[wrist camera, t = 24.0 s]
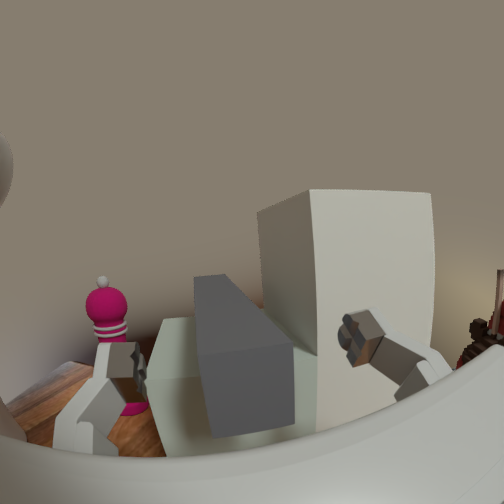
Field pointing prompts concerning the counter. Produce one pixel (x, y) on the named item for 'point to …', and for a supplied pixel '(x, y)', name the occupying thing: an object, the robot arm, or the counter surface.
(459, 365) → the cake
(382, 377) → the step stand
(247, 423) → the gray rectangular bar
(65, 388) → the counter surface
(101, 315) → the pepper mill
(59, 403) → the counter surface
